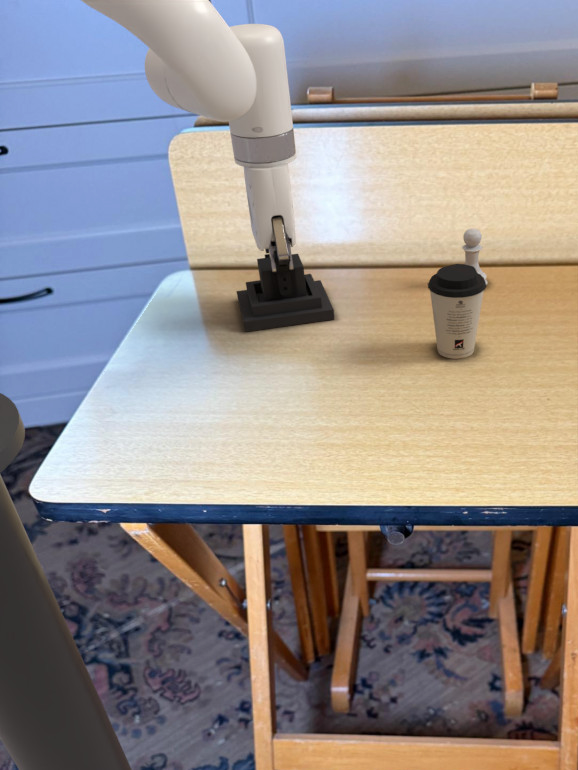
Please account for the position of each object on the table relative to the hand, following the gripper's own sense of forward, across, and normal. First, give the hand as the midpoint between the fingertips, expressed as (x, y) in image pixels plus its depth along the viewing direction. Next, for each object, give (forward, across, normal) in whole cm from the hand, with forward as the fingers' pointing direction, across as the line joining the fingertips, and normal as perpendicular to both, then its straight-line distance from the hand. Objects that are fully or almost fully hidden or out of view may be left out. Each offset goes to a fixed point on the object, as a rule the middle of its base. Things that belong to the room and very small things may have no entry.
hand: (282, 288), depth 108 cm
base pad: (+3, 0, 0) cm, 3 cm away
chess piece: (+3, 0, +27) cm, 27 cm away
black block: (0, 0, 0) cm, 0 cm away
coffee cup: (+3, +18, +19) cm, 26 cm away
